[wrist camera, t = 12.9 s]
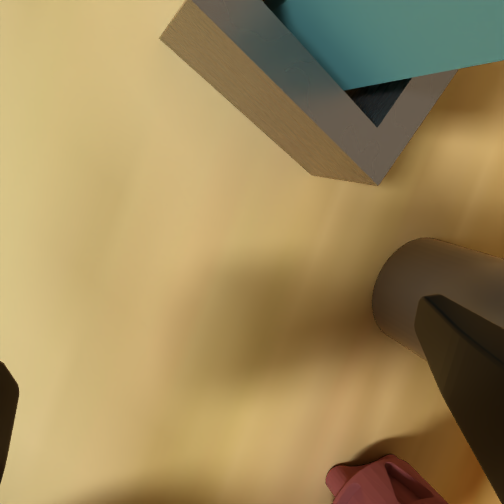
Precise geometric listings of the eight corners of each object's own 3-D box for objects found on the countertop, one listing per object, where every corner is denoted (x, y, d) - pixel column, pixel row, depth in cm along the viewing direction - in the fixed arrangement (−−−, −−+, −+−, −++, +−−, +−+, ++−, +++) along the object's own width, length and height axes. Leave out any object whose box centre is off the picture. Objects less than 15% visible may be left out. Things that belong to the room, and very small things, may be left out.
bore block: (311, 175, 20) (378, 185, 15) (159, 38, 16) (188, -3, 11) (414, 25, 20) (511, -8, 15) (289, -150, 16) (371, -266, 11)
